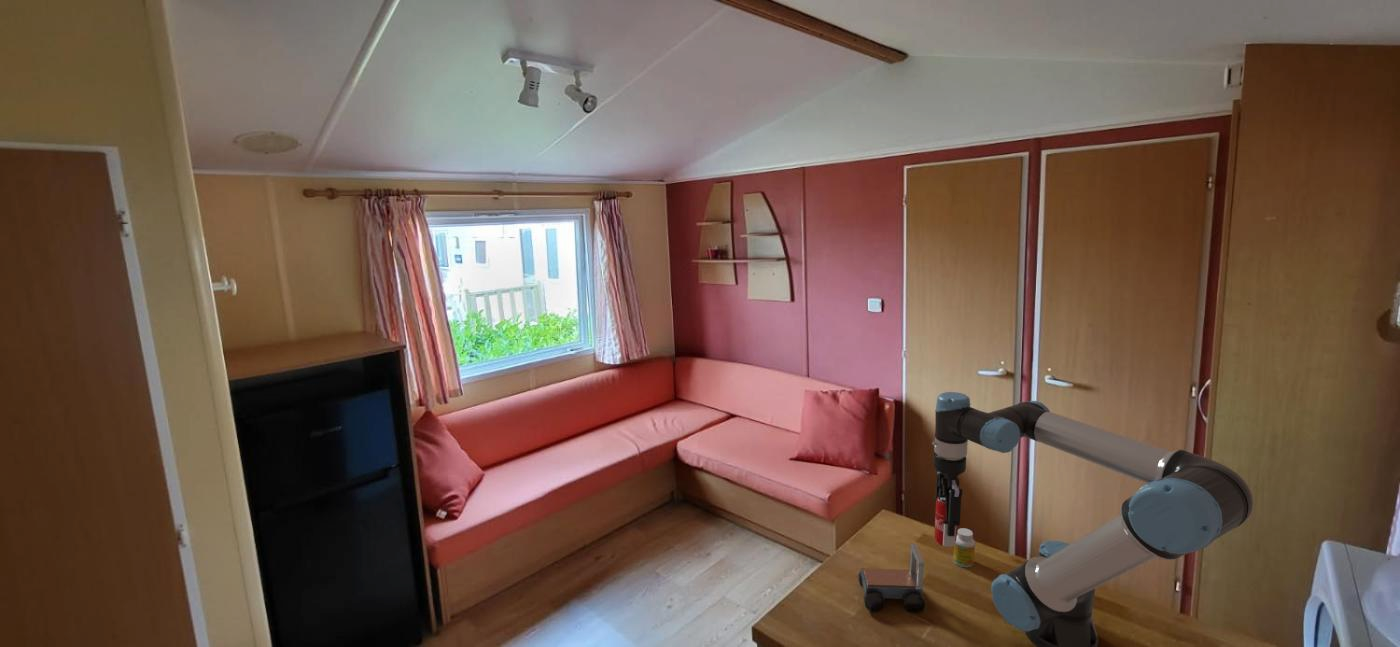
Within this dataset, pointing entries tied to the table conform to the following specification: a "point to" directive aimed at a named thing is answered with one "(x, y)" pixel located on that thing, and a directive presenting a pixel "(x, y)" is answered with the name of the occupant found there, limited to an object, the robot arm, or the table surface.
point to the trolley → (894, 585)
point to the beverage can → (940, 520)
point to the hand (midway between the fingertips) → (945, 538)
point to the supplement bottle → (964, 548)
